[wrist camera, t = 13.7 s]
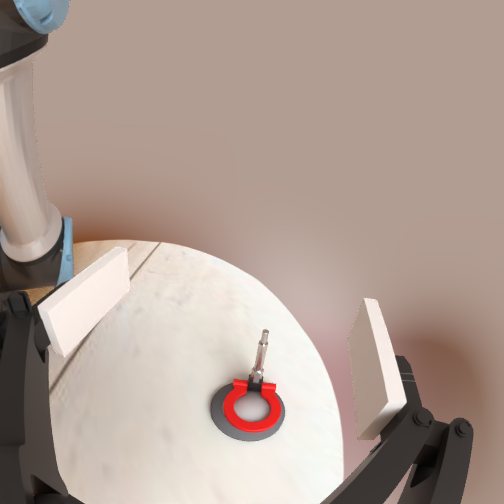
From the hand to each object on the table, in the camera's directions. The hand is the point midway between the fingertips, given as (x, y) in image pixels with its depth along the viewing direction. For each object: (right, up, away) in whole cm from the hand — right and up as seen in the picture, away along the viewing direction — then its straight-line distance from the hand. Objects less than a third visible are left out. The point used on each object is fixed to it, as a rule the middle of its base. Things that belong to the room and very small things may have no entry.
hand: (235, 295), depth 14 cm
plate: (0, -22, +23) cm, 31 cm away
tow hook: (+1, -21, +22) cm, 31 cm away
